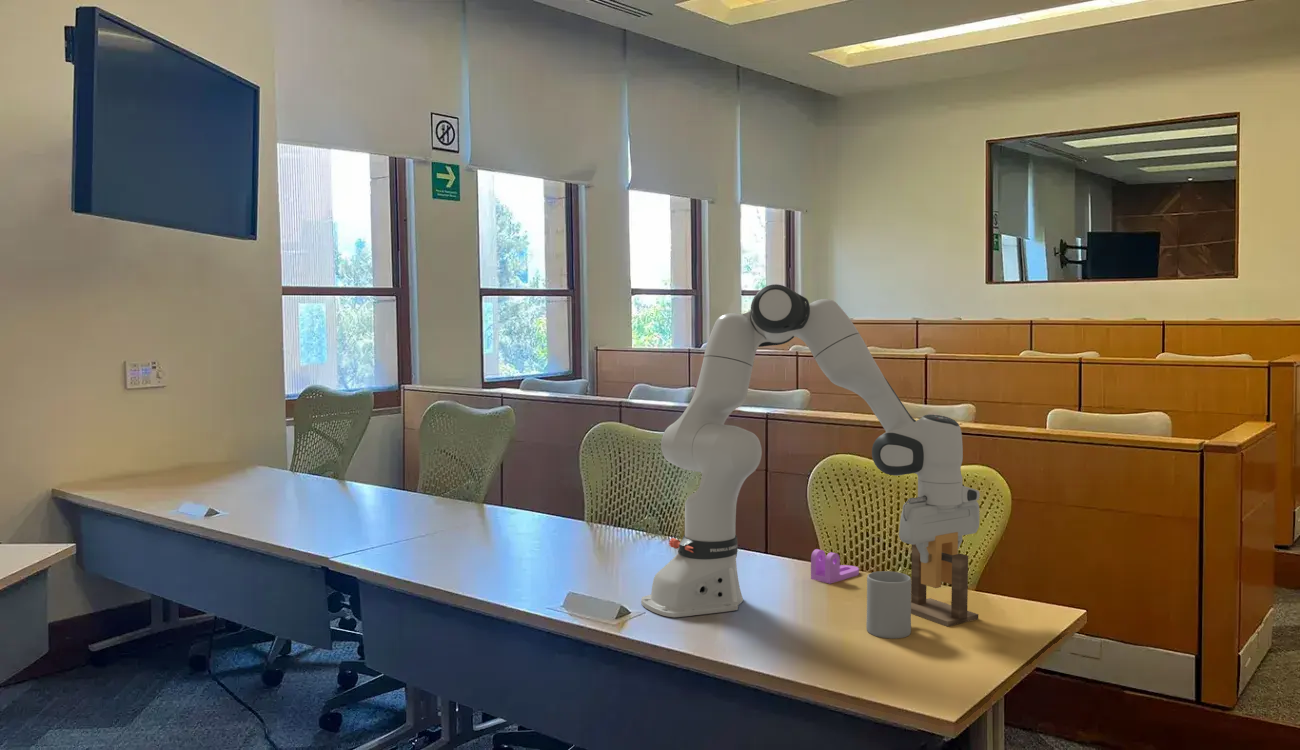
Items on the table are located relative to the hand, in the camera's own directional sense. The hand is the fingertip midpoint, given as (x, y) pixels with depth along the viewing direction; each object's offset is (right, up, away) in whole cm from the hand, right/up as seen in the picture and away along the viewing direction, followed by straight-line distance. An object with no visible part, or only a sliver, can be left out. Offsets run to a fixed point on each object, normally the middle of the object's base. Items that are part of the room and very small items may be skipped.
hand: (939, 559), depth 197 cm
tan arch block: (0, -5, 0) cm, 5 cm away
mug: (-12, -12, -9) cm, 19 cm away
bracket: (-15, -10, +30) cm, 35 cm away
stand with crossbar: (0, -11, 0) cm, 11 cm away
